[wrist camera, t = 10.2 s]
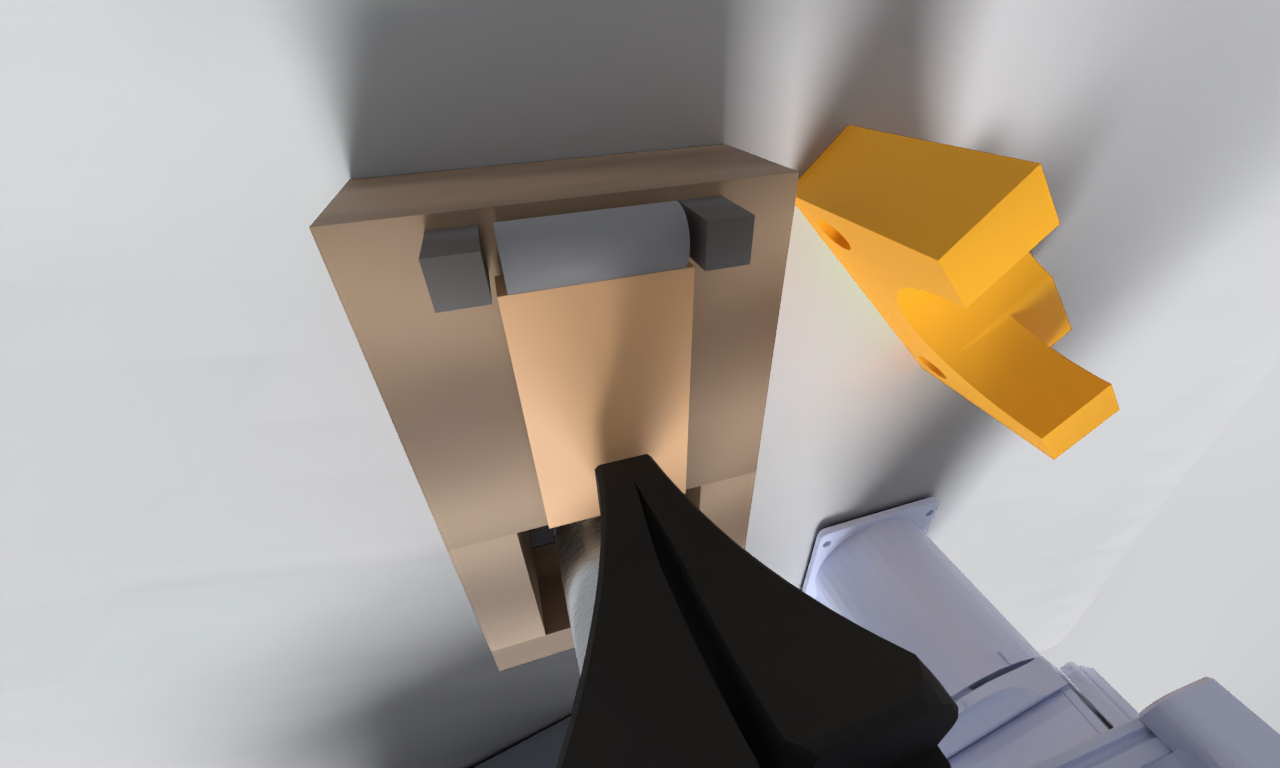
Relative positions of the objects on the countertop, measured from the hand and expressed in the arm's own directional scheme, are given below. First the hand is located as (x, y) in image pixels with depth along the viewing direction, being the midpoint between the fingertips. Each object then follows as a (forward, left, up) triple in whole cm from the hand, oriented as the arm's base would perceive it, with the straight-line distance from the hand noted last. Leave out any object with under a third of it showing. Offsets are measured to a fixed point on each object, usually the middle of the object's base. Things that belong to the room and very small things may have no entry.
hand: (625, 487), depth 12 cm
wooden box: (-2, 0, -6) cm, 6 cm away
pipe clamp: (+2, -13, -6) cm, 15 cm away
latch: (+2, 0, -2) cm, 3 cm away
